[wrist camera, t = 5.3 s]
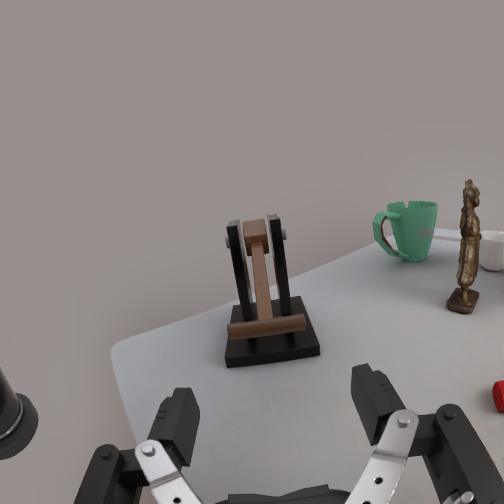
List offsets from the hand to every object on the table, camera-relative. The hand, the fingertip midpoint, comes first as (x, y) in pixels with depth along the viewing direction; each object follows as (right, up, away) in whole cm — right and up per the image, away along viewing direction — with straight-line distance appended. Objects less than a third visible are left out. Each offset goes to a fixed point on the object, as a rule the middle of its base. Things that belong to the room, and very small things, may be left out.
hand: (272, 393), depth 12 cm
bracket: (+1, -2, +18) cm, 18 cm away
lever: (0, +4, +12) cm, 13 cm away
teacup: (+40, +4, +21) cm, 45 cm away
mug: (+27, +5, +32) cm, 42 cm away
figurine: (+25, 0, +13) cm, 28 cm away
